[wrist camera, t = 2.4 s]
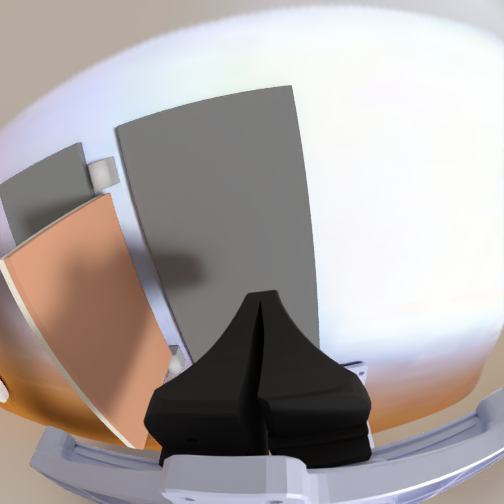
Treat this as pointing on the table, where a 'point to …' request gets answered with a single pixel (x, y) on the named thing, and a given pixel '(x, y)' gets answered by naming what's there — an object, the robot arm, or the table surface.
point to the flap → (92, 314)
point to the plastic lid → (3, 393)
